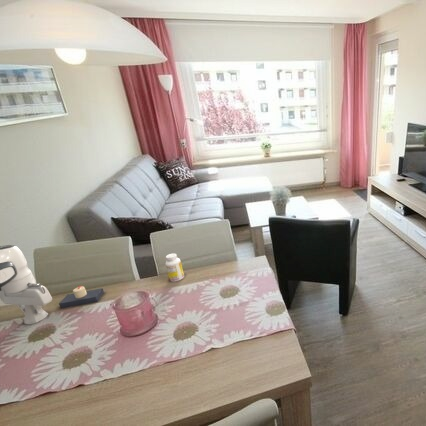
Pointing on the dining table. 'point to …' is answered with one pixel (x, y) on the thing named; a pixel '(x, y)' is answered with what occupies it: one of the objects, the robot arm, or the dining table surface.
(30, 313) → the flask
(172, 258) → the supplement bottle
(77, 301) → the control panel
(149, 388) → the dining table surface
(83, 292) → the small cream cake
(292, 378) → the dining table surface
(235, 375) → the dining table surface
